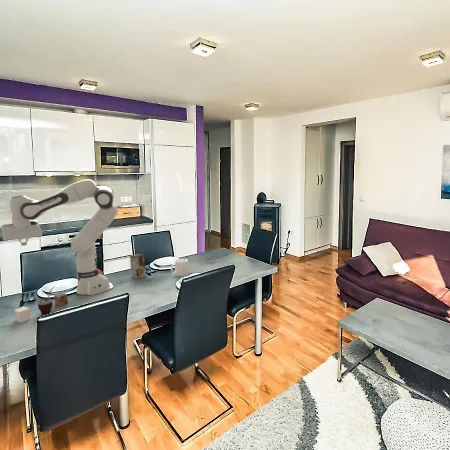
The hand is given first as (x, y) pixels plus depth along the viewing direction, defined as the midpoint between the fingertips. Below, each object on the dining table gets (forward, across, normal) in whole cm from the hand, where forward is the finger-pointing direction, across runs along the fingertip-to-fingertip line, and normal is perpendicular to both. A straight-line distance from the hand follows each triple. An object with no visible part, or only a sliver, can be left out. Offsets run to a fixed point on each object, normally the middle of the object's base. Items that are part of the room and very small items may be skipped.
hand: (24, 245), depth 191 cm
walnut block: (+34, +14, -20) cm, 42 cm away
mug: (+34, +96, -16) cm, 103 cm away
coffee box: (+34, +69, -1) cm, 77 cm away
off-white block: (+34, -6, -30) cm, 46 cm away
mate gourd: (+34, +6, -29) cm, 45 cm away
